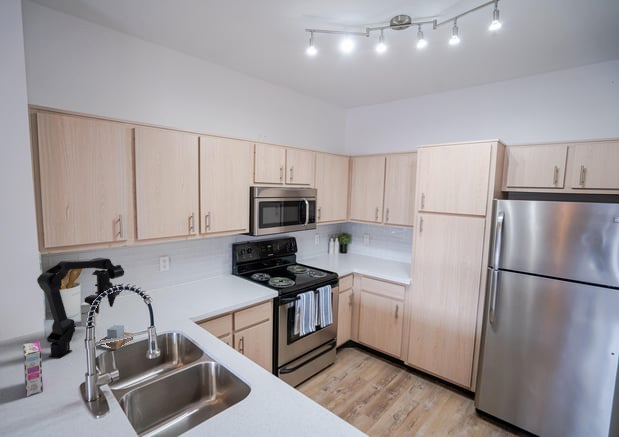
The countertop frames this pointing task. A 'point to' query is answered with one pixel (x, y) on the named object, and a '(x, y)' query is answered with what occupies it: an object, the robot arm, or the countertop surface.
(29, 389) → the candy bar box
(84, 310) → the supplement box
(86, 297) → the robot arm
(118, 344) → the walnut block
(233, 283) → the countertop surface
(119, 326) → the slate cube
